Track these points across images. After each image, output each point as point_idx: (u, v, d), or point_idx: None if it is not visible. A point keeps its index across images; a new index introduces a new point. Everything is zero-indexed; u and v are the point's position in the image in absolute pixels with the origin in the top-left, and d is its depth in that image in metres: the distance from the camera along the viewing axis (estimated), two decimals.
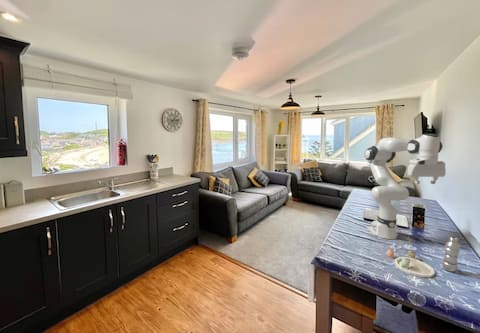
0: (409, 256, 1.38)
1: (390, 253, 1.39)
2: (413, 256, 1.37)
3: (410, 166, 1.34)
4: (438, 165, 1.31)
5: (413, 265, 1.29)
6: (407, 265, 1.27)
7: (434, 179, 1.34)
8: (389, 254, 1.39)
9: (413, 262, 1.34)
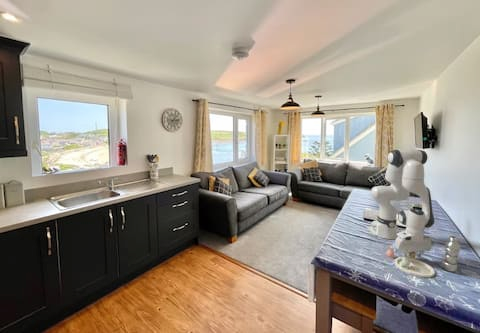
0: (409, 256, 1.38)
1: (390, 253, 1.39)
2: (413, 256, 1.37)
3: (397, 240, 1.38)
4: (424, 240, 1.35)
5: (413, 265, 1.29)
6: (407, 265, 1.27)
7: (420, 252, 1.38)
8: (389, 254, 1.39)
9: (413, 262, 1.34)
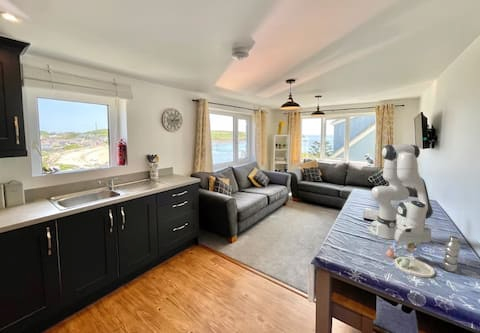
0: None
1: (390, 253, 1.39)
2: (412, 247, 1.37)
3: (397, 231, 1.38)
4: (424, 232, 1.35)
5: (413, 265, 1.29)
6: (407, 265, 1.27)
7: (416, 244, 1.38)
8: (389, 254, 1.39)
9: (413, 262, 1.34)
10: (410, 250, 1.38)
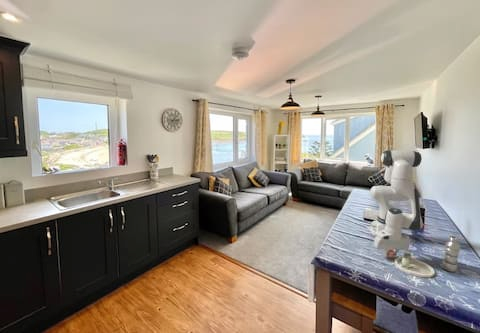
0: None
1: (390, 253, 1.39)
2: (409, 259, 1.32)
3: (376, 239, 1.40)
4: (402, 239, 1.37)
5: (413, 265, 1.29)
6: (407, 265, 1.27)
7: (395, 251, 1.40)
8: (389, 254, 1.39)
9: (413, 262, 1.34)
10: None
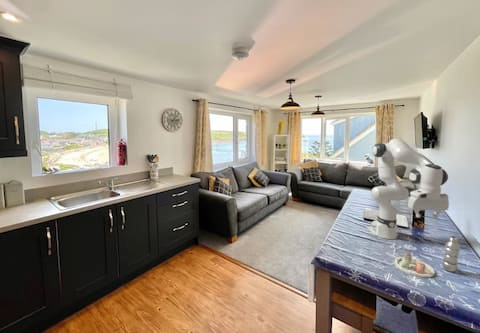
0: None
1: (421, 267, 1.22)
2: (409, 259, 1.32)
3: (411, 198, 1.25)
4: (441, 198, 1.22)
5: (413, 265, 1.29)
6: (407, 265, 1.27)
7: (436, 212, 1.25)
8: (419, 268, 1.23)
9: (413, 262, 1.34)
10: None
